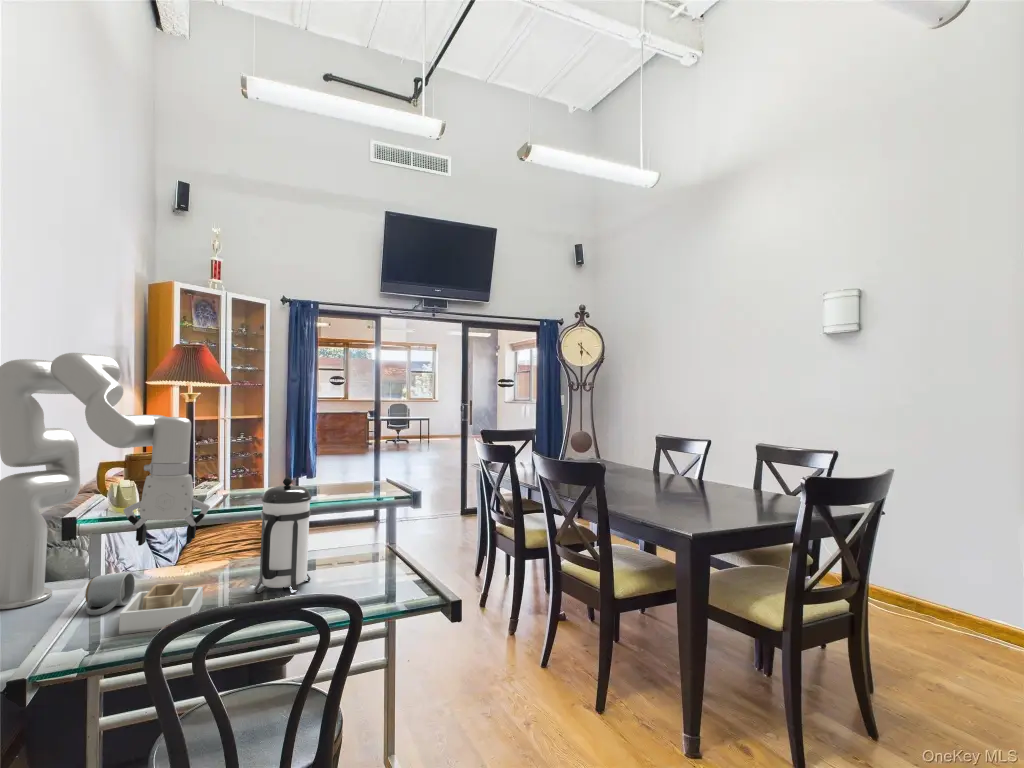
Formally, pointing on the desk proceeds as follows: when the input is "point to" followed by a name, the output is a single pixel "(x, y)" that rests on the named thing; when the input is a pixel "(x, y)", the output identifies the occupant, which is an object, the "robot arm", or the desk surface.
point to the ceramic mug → (109, 592)
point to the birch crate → (164, 596)
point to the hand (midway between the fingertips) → (165, 542)
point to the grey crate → (157, 612)
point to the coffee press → (284, 536)
